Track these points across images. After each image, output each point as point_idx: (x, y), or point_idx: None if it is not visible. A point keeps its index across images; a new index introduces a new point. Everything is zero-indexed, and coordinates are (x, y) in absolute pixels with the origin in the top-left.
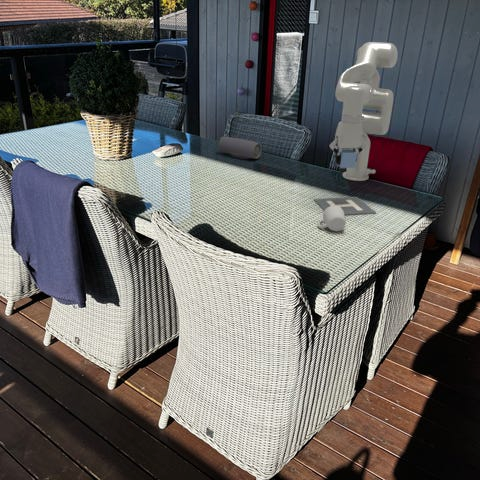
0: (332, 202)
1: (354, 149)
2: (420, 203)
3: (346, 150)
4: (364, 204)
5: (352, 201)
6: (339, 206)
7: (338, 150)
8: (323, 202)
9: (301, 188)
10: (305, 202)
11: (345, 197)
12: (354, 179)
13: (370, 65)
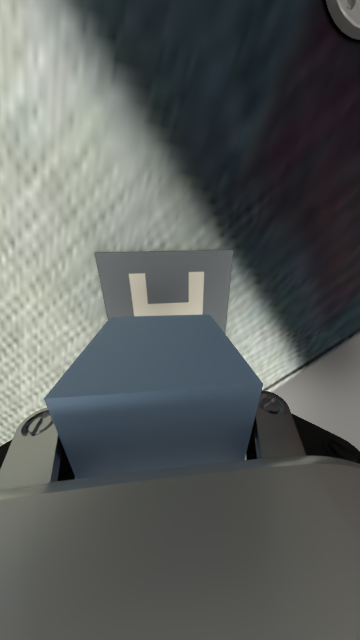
0: (144, 286)
1: (270, 445)
2: (355, 307)
3: (166, 438)
4: (222, 308)
5: (202, 286)
6: (154, 315)
7: (47, 460)
8: (118, 282)
9: (64, 100)
10: (67, 266)
11: (197, 251)
12: (341, 19)
13: None
